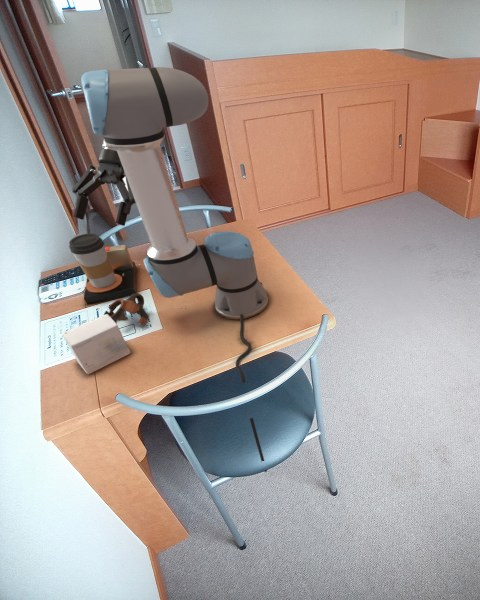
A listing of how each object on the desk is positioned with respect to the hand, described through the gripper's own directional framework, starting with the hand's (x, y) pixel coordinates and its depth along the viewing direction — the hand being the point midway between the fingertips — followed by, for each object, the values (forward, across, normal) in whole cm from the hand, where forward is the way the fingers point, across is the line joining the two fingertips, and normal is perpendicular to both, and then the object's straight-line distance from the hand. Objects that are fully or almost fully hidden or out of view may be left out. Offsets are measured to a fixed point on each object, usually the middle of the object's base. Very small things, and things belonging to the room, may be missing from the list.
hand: (99, 221), depth 125 cm
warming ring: (+17, 0, -8) cm, 19 cm away
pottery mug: (+27, -16, -2) cm, 31 cm away
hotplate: (+16, 0, -12) cm, 20 cm away
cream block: (+11, 0, -14) cm, 18 cm away
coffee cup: (+17, 0, -8) cm, 19 cm away
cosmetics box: (+37, -19, +8) cm, 43 cm away
